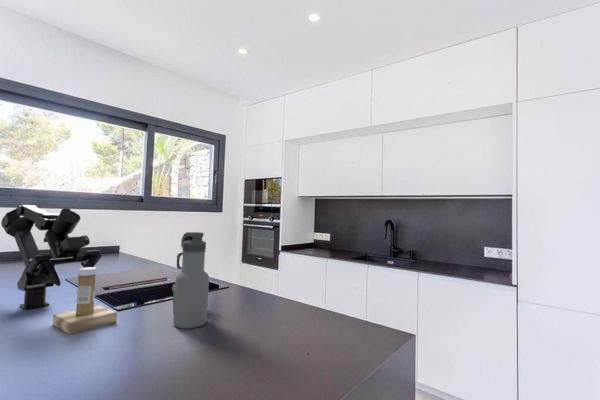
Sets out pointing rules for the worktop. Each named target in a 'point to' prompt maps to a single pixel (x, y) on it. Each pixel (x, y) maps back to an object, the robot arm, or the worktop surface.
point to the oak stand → (84, 319)
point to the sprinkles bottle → (86, 290)
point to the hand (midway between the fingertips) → (76, 282)
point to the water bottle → (191, 283)
